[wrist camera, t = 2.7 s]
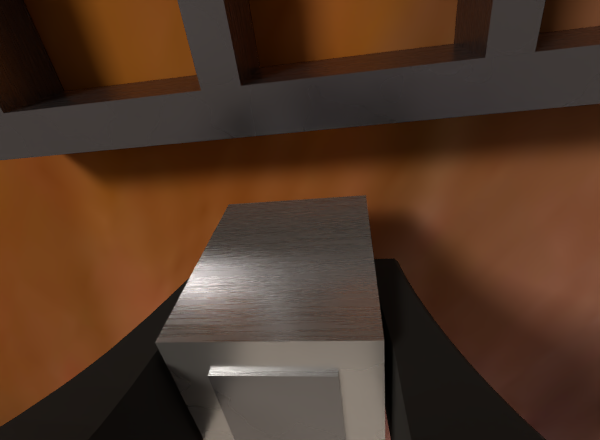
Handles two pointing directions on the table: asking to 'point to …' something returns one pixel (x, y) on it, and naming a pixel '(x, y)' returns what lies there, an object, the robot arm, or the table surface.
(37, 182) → the table surface
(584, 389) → the table surface
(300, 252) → the block
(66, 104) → the rack rail
